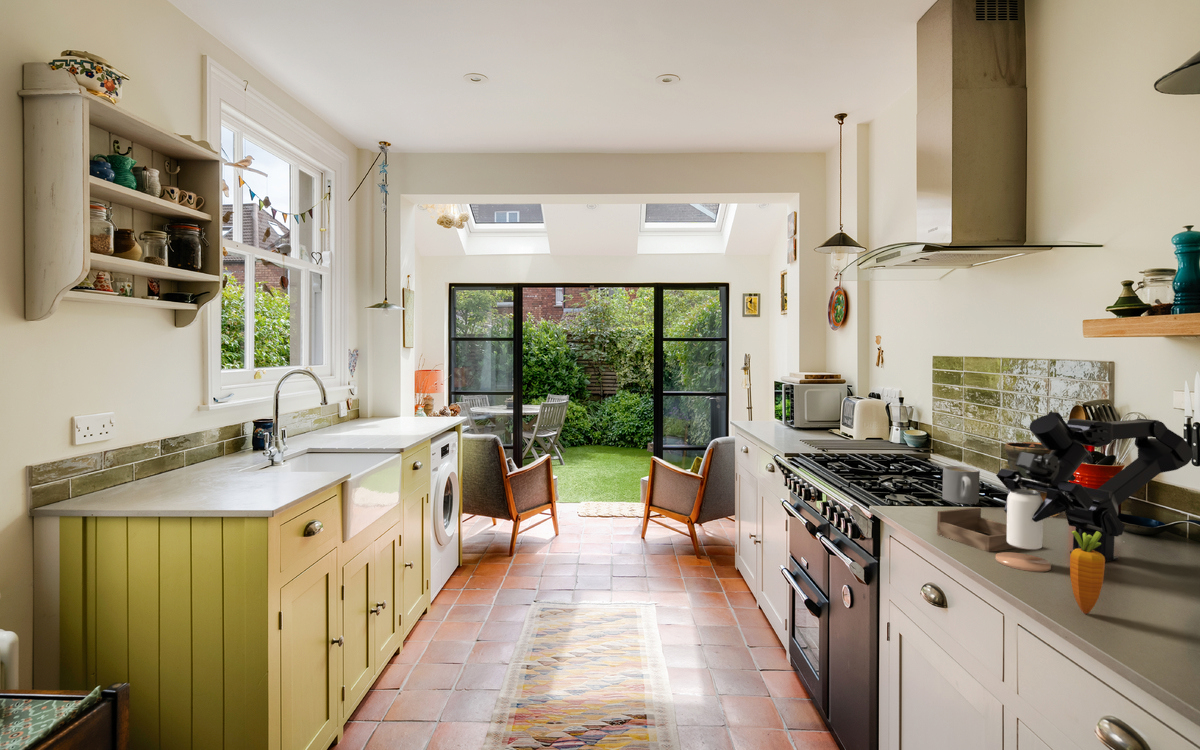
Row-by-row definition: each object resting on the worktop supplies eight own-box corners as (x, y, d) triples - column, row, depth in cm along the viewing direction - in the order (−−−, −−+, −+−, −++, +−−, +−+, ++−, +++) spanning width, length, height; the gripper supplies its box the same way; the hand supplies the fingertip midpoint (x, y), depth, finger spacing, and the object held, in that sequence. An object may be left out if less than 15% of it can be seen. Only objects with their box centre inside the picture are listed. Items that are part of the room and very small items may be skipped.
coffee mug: (941, 494, 197) (942, 464, 196) (977, 498, 192) (978, 467, 192) (943, 503, 185) (944, 471, 185) (981, 507, 180) (982, 475, 180)
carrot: (1061, 610, 107) (1064, 527, 107) (1079, 606, 109) (1082, 525, 109) (1092, 621, 103) (1095, 535, 102) (1110, 617, 105) (1113, 532, 104)
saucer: (1062, 568, 129) (1062, 564, 129) (1029, 573, 125) (1029, 570, 125) (1016, 553, 138) (1016, 550, 138) (984, 558, 135) (984, 554, 135)
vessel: (1068, 520, 166) (1068, 449, 166) (1006, 514, 173) (1006, 446, 173) (1060, 509, 179) (1060, 443, 178) (1002, 504, 186) (1002, 440, 185)
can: (1011, 539, 136) (1012, 486, 136) (1045, 545, 131) (1046, 491, 131) (1002, 545, 132) (1003, 491, 131) (1037, 552, 127) (1039, 496, 127)
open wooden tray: (1031, 546, 144) (1031, 521, 144) (988, 551, 139) (989, 526, 139) (977, 529, 157) (978, 507, 157) (937, 534, 152) (937, 511, 152)
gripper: (1003, 434, 141) (963, 483, 139) (1083, 446, 122) (1039, 502, 120) (1029, 465, 143) (991, 514, 141) (1112, 481, 125) (1069, 538, 122)
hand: (1019, 516), depth 131 cm, fingers closed on can, 6 cm apart
